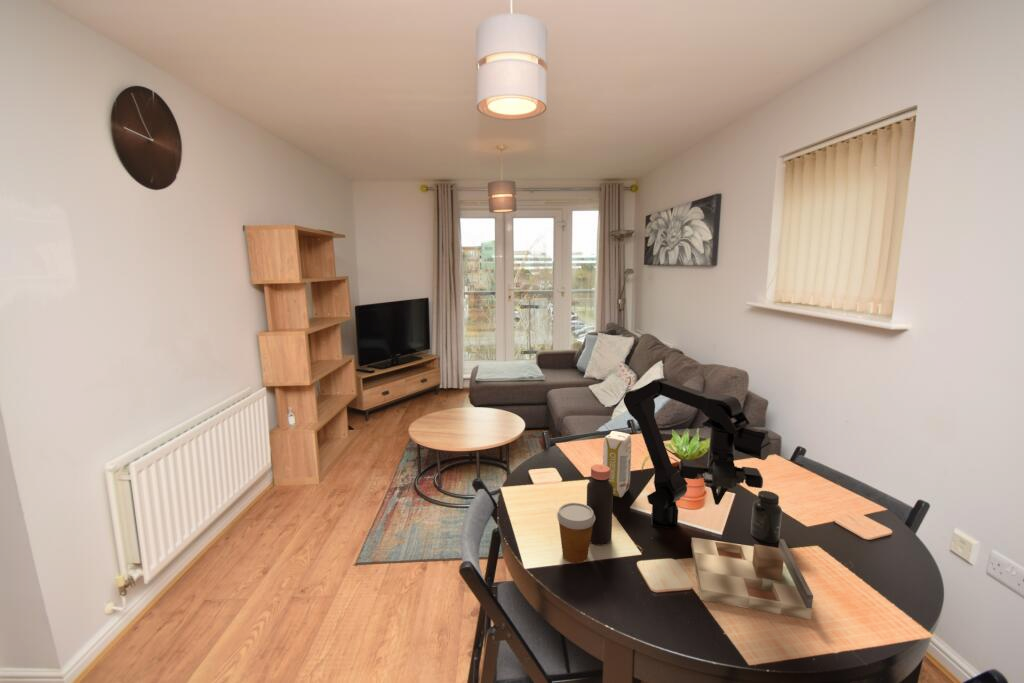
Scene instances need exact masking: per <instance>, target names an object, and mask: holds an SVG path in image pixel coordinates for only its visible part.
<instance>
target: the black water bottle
mask: <svg viewBox="0 0 1024 683" xmlns="http://www.w3.org/2000/svg"><path fill="white" fill-rule="evenodd" d="M590 478H591V480H590V481H588V483H587V484H586V505H587V506H589V507H590V508H591V509H592V510H593V512H594V515H595V522H594V524H593V528H592V534H591V540H590V544H592V545H597V546H605V545H608V544H609V543H611V541H612V537H613V536H612V534H613V533H612V532H613V531H612V529H613V504H614V503H613V502H614V496H613V486H612V484H611V483H610V482H609V479H610V468H609V467H608V466H606V465H603V464H600V463H599V464H594V465H591V468H590Z"/></svg>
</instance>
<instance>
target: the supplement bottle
mask: <svg viewBox="0 0 1024 683" xmlns="http://www.w3.org/2000/svg"><path fill="white" fill-rule="evenodd" d="M756 499H757V500H754V502H753V503H752V510H751V522H750V535H752V537H754V539H755V540H758V541H760V542H762V543H768V544H774V543H778V542H779V539H780V534H781V526H782V516H783V510H782V507H781V506H780V505H779V503H780V501H779V500H780V497H779V495H778V494H777V493H775V492H773V491H769V490H768V491H767V490H760V491H758V493H757V498H756Z"/></svg>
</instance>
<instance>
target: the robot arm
mask: <svg viewBox="0 0 1024 683" xmlns="http://www.w3.org/2000/svg"><path fill="white" fill-rule="evenodd" d="M660 396H663V397H665V398H668V399H671V400H674V401H675V402H678V403H681V404H684V405H686V406H689V407H691V408H695V409H697V410H698V411H700V412H701V413H702V414H703V416H705V417H707V418H708V419H707V420H706V421H704V422H702V425H703V426H704V427H707V428H709V429H710V432H709V433H710V435H709V447H708V455H707V456H708V457H707V459H708V460H707V466H705V465H698V463H697V460H694V459H686V458H681V459H680V460H679V466H678V467H679V470H677V469H676V468H675V467H674V466H673V464H672V461H671V459H670V456H669V453H668V451H667V448H666V445H665V443H664V439H663V436H662V434H661V432H660V429H659V426H658V423H657V420H656V417H655V411H656V403H655V399H657V398H658V397H660ZM623 404H624V406H625V408H626V410H627V411H628V414H629V415H630V416H631V417H632V418H633V419H634V420H635V421H636V422H637V424H638V427H639V429H640V433H641V435H642V438H643V440H644V441H643V442H644V443H645V446H646V450H647V452H648V455H649V458H650V460H651V463H652V466H653V470H654V478H653V480H654V481H653V484H654V485H653V486H654V489H655V491H653V492H651V493H650V494H647V496H646V497H647V502H648V504H649V505H651V514H650V517H651V518H650V520H651V521H650V522H651V524H650V525H651V526H652V527H658V528H665V529H672V530H676V529H677V524H678V520H679V507H678V505H677V501H680V499H681V498H683V497H684V496H685V495H686V493H687V491H688V482H687V480H686V479H692V480H695V479H696V478H698V474H700V475H702V480H703V482H704V483H705V484H708V486H709V488H710V490H711V493H712V498H713V501H714V505H716V506H717V505H718V506H719V504H720V503H721V501H722V499H723V498H724V496H725V494H726V493H727V491H728V490H729V489H733V488H737V487H736V486H737V485H741V484H746V485H747V487H748V488H757V489H763V485H764V479H763V476H762V474H761V472H760V470H759V469H758V468H757V467H756V468H755V467H749V466H741V467H738V466H736V465H735V461H734V460H735V459H734V458H735V451H737V453H739V454H741V455H745V456H749V457H752V458H755V459H758V460H761V461H766V460H767V459H768V457H769V455H770V452H771V449H772V442H771V437H770V436H769V433H770V432H769V431H768V430H765V429H758V428H754V427H751V426H750V425H751V422H750V421H749V419H748V418H747V415H746V414H745V413H744V411H743V408H742V404H741V403H740V400H739V399H738V398H737V397H735V396H732V395H727V394H720V393H709V392H704V391H701V390H698V389H695V388H692V387H689V386H686V385H683V384H680V383H677V382H674V381H671V380H668V378H665V377H660V378H656V379H653V380H651V382H649V383H647V384H645V385H643V386H640V387H639V388H635V389H632V390H629V391H627V392H626V393H625V395H624V397H623ZM732 420H736V421H734V422H733V421H732ZM685 478H686V479H685Z"/></svg>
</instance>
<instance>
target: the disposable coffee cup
mask: <svg viewBox="0 0 1024 683" xmlns="http://www.w3.org/2000/svg"><path fill="white" fill-rule="evenodd" d="M556 518H557V521H558V525H559V533H560V542H561V551H562V557H563V558H564V560H566V562H568V563H571V564H582V563H584V562H586V561H587V560H588V558H589V551H590V546H591V545H590V544H591V542H590V540H591V534H592V528H593V524H594V522H595V515H594V512H593V510H592V509H591V508H590V507H589V506H587V504H584V503H581V502H568V503H564V504H563V505H561V506H560V507H559V508H558V511H557V513H556Z"/></svg>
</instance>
